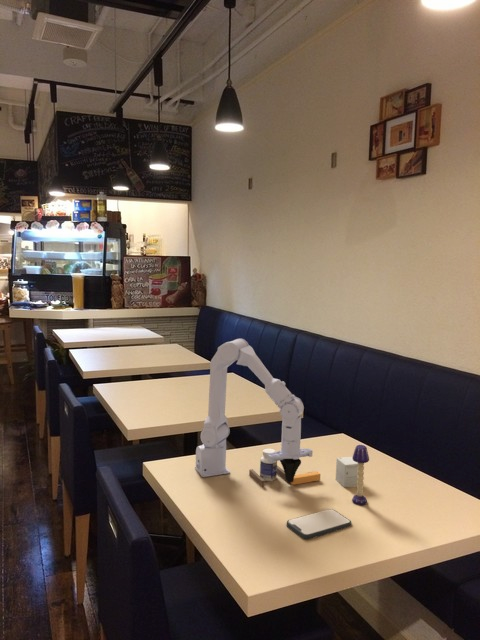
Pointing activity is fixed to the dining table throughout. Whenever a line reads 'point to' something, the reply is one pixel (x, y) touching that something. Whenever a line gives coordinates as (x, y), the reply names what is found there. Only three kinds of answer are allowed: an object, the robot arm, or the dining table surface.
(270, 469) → the pill bottle
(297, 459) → the robot arm
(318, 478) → the orange rectangular block
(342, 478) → the product box
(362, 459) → the toy lamp
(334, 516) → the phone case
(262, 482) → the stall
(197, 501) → the dining table surface
